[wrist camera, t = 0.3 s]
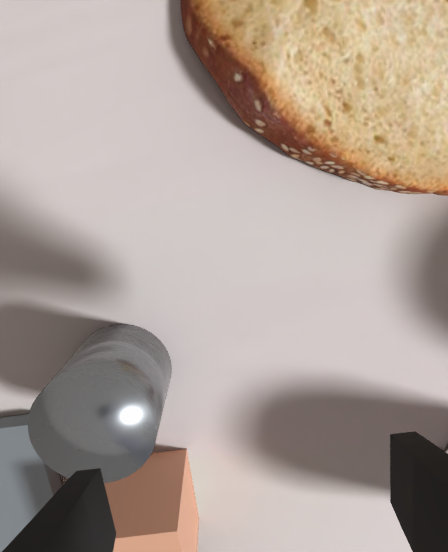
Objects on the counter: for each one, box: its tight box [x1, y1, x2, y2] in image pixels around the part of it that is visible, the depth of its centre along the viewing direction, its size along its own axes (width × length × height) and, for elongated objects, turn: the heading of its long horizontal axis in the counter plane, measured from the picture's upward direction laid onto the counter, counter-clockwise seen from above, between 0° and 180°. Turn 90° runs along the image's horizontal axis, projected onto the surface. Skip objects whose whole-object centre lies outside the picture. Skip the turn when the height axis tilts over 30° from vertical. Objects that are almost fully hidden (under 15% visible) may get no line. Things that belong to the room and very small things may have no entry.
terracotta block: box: [104, 449, 199, 552], centre depth 18 cm, size 5×5×5 cm
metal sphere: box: [28, 324, 172, 483], centre depth 16 cm, size 5×5×5 cm
